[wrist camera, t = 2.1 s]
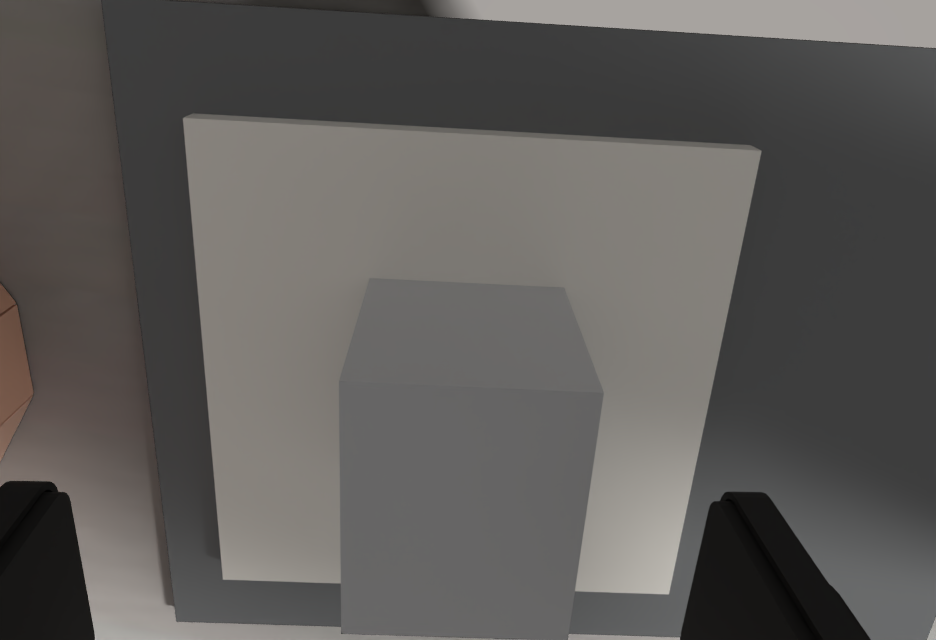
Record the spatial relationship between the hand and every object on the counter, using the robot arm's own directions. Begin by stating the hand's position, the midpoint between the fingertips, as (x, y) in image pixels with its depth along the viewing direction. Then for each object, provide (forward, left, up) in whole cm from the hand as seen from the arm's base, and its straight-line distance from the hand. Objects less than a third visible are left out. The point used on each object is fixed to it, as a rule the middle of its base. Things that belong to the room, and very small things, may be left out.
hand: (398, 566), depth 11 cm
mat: (-4, 0, -7) cm, 8 cm away
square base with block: (-1, 0, -6) cm, 6 cm away
